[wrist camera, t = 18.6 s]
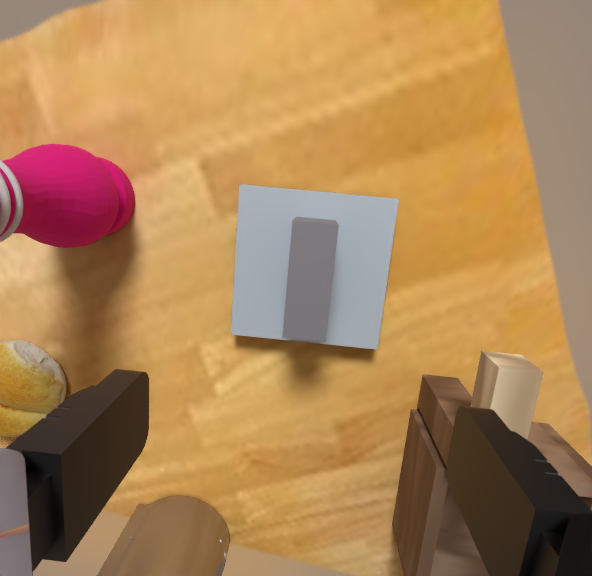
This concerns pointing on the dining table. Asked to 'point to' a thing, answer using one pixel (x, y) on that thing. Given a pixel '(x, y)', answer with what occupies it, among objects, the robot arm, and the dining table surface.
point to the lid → (311, 265)
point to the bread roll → (27, 386)
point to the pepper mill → (63, 196)
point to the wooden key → (508, 389)
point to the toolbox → (437, 494)
